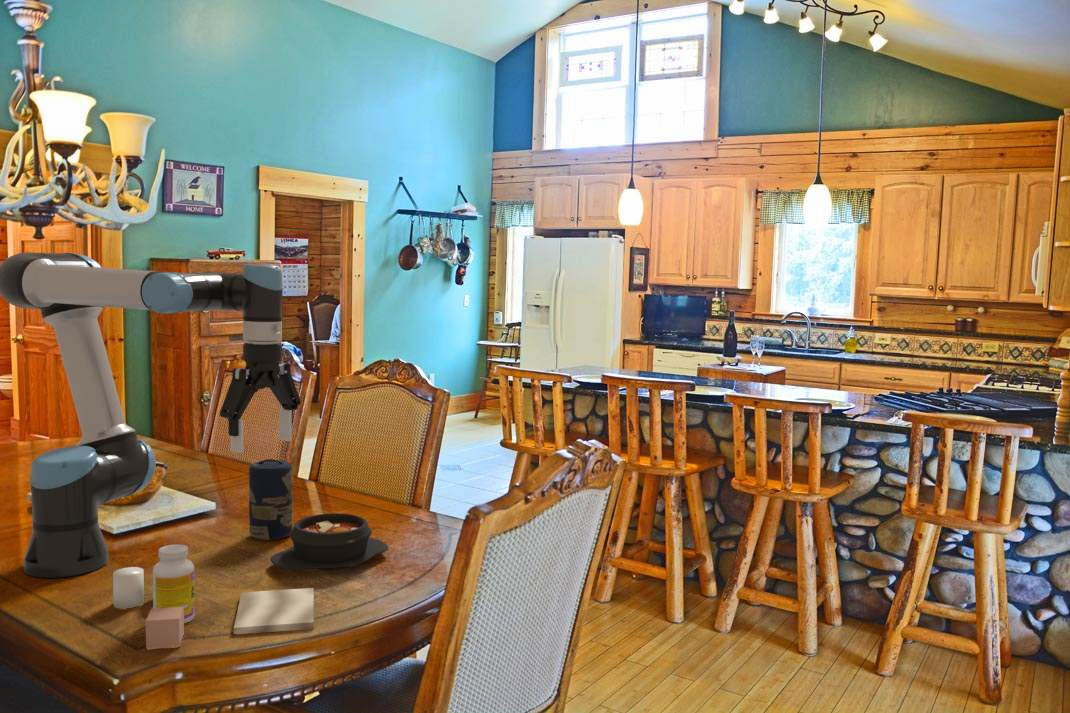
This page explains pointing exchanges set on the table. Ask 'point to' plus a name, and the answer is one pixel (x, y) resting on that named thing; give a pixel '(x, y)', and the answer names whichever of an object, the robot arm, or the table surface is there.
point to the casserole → (329, 543)
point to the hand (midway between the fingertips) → (262, 446)
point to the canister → (270, 499)
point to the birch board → (275, 611)
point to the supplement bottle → (174, 580)
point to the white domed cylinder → (128, 587)
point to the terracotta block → (164, 627)
